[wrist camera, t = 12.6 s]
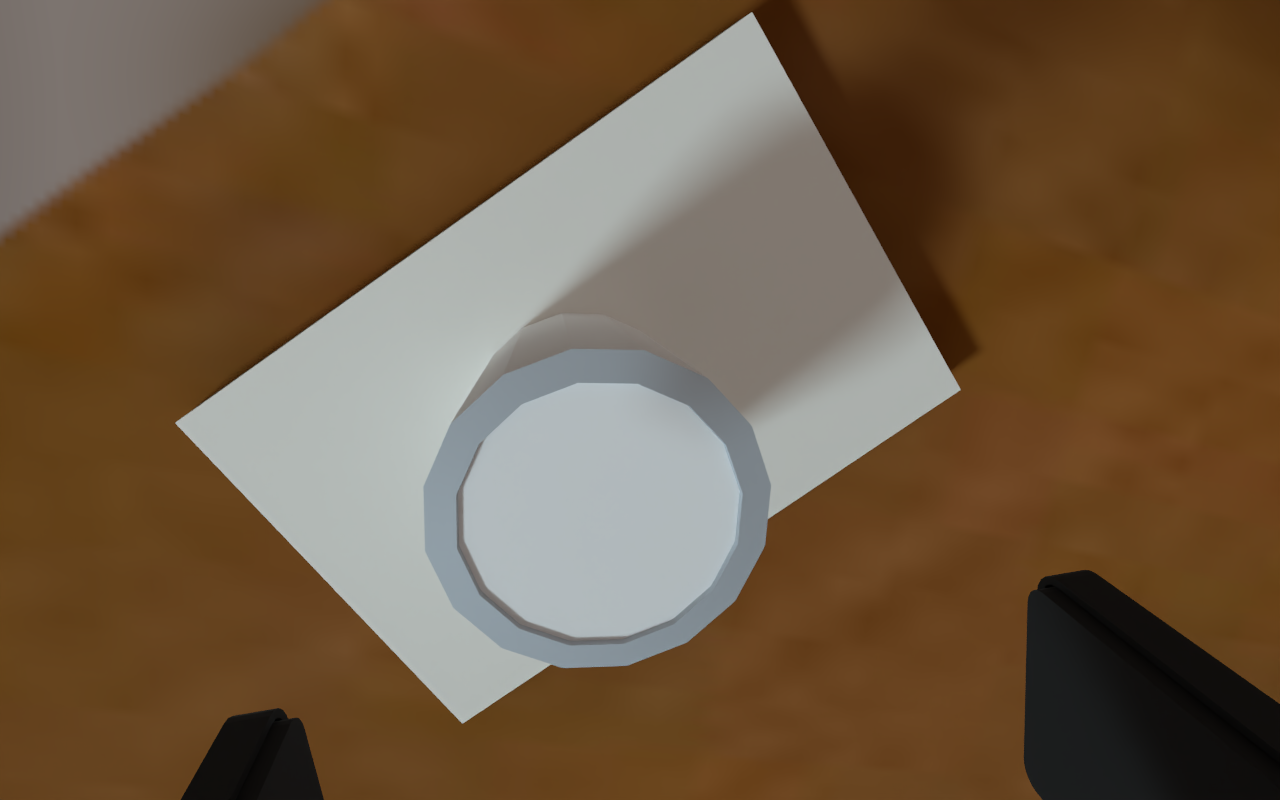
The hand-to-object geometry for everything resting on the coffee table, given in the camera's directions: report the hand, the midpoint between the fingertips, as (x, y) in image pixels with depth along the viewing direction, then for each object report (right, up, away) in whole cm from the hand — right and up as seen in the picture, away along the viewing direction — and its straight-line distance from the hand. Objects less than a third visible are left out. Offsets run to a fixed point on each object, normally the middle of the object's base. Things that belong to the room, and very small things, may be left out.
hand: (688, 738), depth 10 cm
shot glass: (-2, +4, +12) cm, 13 cm away
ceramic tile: (-2, +4, +13) cm, 14 cm away
